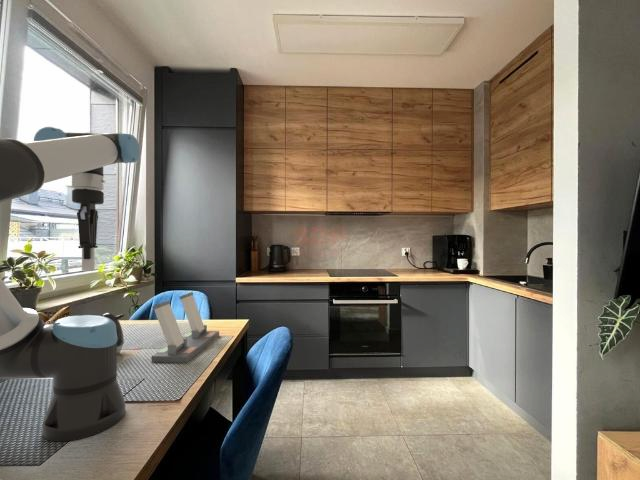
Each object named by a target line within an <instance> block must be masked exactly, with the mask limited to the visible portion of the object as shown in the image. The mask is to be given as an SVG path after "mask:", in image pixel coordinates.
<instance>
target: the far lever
mask: <svg viewBox="0 0 640 480" xmlns="http://www.w3.org/2000/svg"><path fill="white" fill-rule="evenodd" d="M178 298H179V300H180V302H181V305H182V307H183V309H184V312H185V315H186V318H187V322H188V324H189V327H190V329H191V331H192V330H199V335H200V334H201V333H203V332H204V329H205V328H204V325H205V324H204V322H203V319H202V317H201V314H200V312H199V308H198V306H197V303H196V300H195V297H194V292H193V291H191V292H188V293H185V294H182V295H180V296H179V297H178Z"/></svg>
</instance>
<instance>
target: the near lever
mask: <svg viewBox="0 0 640 480" xmlns="http://www.w3.org/2000/svg"><path fill="white" fill-rule="evenodd" d="M152 309H153V310H154V312H155V315H156V318H157V320H158V323H159V326H160V328H161V331H162V335H164V339H165V342H166V344H167V346H169V345H176V351H177V350H178V349H180V348H181V347H183V343H184V340H183V338H182V337H183V335H182V333H181V330H180V327H179V325H178V322H177V320H176V317H175V314H174V312H173V309H172V306H171V302H170V300H166V301H163V302H161V303H158V304H156V305H153V306H152Z"/></svg>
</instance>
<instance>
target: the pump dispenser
mask: <svg viewBox="0 0 640 480" xmlns="http://www.w3.org/2000/svg"><path fill="white" fill-rule="evenodd" d="M125 315H126V314H124V313H121V314H119V315H115V314H114V313H112V312H105V313H102V314H101V315H100V316H103V317H107V318H109V319H111V320H112V321H113V322H114V323H115V324H116V332H117V337H118V340H117V354H118V353H119V352H121V350H122V348H123V347H124V346H123V345H124V344H125V337H124V331H123V328H122V324H121V322H120V319H122V318H123V317H126V316H125Z"/></svg>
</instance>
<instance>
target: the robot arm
mask: <svg viewBox="0 0 640 480" xmlns="http://www.w3.org/2000/svg"><path fill="white" fill-rule="evenodd" d="M140 156H141V149H140V144H139V141H138V139H137V138H136V137H135V135H133V134H131V133H122V132H118V133H116V132H115V133H114V132H82V131H81V132H79V131H78V132H77V131H76V132H73V131H72V132H71V131H70V132H69V131H64V130H62V129H60V128H57V127H54V126H53V127H52V126H45V127H44V126H43V127H41V128H40V129H38V130H37V131H36V132H35V134H34V135H33V141H27V142H26V141H25V142H22V141H20V140H18V139H15V138H9V137H7V138H5V137H4V138H3V137H2V138H0V204H1V203H4V202H8V201H10V200H12V201H13V200H14V199H18V198H21V197H25V196H27V195H30V194H33V193H35V192H38V191H39V190H40V189H41V188H42V187H43V186H44V184H47V183H50V182H55V181H57V180H60V179H64V178H67V177H71V188H73V189H72V190H71V201H72V203H74V204H80V207H79V208H78V209H77V212H76V216H77V222H78V223H77V225H78V237H79V245H77V247H78V249H81V271H83V272H84V271H85V272H86V271H87V272H88V271H89V272H90V271H95V249H97V248H98V245H97V238H98V237H97V234H98V221H99V211H98V210H97V209H96V205H103V204H104V202H105V201H104V200H105V198H104V197H105V195H104V194H105V193H104V191H103V190H104V184H105V183H106V182H107V181H106V179H104V167H107V166H109V165H114V164H118V163H119V164H120V163H121V164H122V163H123V164H130V163H131V164H132V163H133V164H134V163H136V162H137V161H138V160H139V159H140ZM117 340H118V337H117V332H116V324H115V323H114V322H113V321H112V320H111V319H109V318H107V317H103V316H101V315H95V314H93V315H92V314H83V315H70V316H65V317H62V318H61V317H60V318H59V319H57V320H55V321H54V323H46V322H45V321H44V320H43V318H42V317H41V316H40V314H39V313H38V312H37V311H36V310H34V309H33V308H29V307H22V306H21V304H20V302H19V301H18V300H17V298H16V296H14V295H13V293H12V292H11V290H10V289H9V288H8V286H7V285H6V283H5V282H4V281H3V280H2V278H1V277H0V381H7V380H24V379H25V380H27V379H29V380H30V379H51V378H52V380H53V381H52V383H53V384H52V391H53V392H52V397H51V400H50V403H49V405H48V408H47V410H46V412H45V413H46V414H45V416H44V418H43V420H42V437H43V438H44V439H46V440H47V441H51V442H70V441H76V440H81V439H83V438H87V437H91V436H93V435H96V434H99V433H101V432H104V431H105V430H107V429H109V428H111V427H112V426H114V425H116V424H117V423H118V422H119V421H121V420H122V419H123V418H124V416H125V414H126V400H125V397H124V395H123V393H122V390H121V388H120V386H119V382H118V379H117V377H118V376H117V371H118V368H117V367H118V366H117V363H118V361H117V360H118V358H117V357H118V353H117Z"/></svg>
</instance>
